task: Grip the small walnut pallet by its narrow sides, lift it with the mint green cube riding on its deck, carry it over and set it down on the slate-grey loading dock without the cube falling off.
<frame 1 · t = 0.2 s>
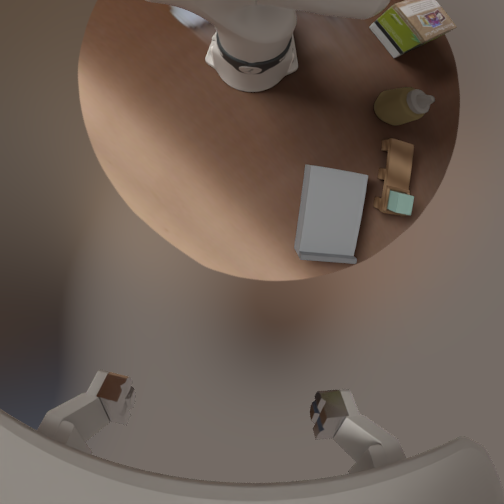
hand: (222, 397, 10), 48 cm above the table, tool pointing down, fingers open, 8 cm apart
mint green cube: (395, 200, 51), point 4 cm above the table, touching pallet
squeeze bottle: (384, 109, 48), on the table
pallet: (389, 175, 54), on the table, touching mint green cube
dock: (327, 210, 56), on the table
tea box: (397, 35, 41), on the table
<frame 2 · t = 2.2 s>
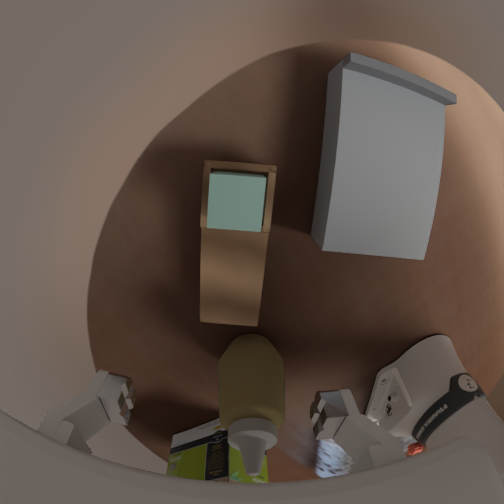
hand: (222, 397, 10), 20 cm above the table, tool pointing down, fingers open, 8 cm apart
mint green cube: (237, 195, 23), point 4 cm above the table, touching pallet
squeeze bottle: (250, 349, 34), on the table
pallet: (235, 237, 29), on the table, touching mint green cube
dock: (372, 162, 26), on the table
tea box: (218, 434, 42), on the table
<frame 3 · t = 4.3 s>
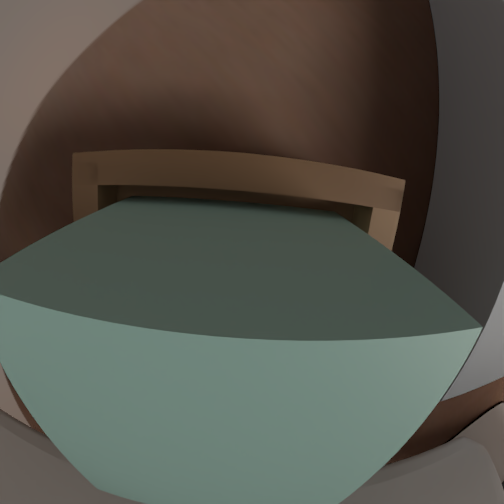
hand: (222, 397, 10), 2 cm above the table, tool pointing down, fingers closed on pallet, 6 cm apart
mint green cube: (226, 295, 6), point 4 cm above the table, touching pallet
pallet: (225, 346, 12), on the table, touching mint green cube, gripper
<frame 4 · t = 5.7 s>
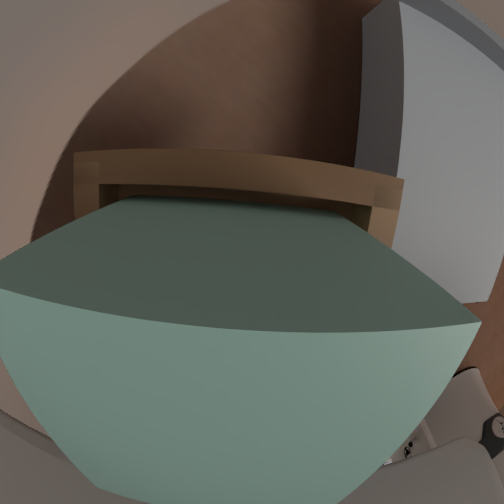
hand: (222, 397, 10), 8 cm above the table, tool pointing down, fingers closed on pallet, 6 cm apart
mint green cube: (226, 294, 6), point 11 cm above the table, touching pallet
pallet: (225, 346, 12), point 6 cm above the table, touching mint green cube, gripper
dock: (428, 155, 15), on the table
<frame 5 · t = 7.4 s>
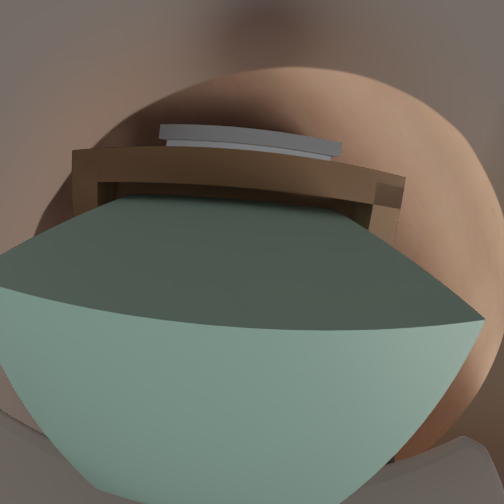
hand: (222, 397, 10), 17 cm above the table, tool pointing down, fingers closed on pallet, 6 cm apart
mint green cube: (225, 293, 6), point 20 cm above the table, touching pallet
pallet: (225, 346, 12), point 15 cm above the table, touching mint green cube, gripper
dock: (239, 233, 26), on the table
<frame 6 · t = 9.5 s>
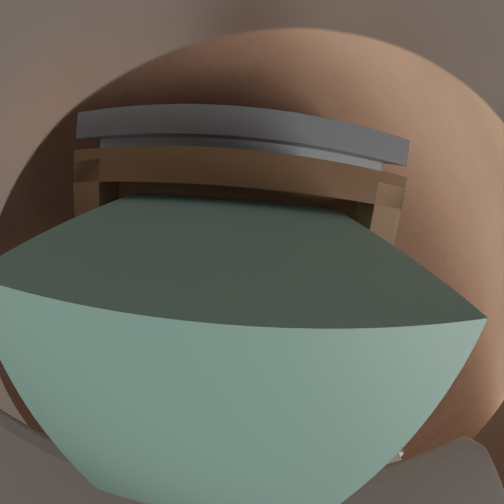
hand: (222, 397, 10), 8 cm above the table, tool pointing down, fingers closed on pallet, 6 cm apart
mint green cube: (227, 293, 6), point 11 cm above the table, touching pallet
pallet: (226, 346, 12), point 6 cm above the table, touching mint green cube, gripper
dock: (230, 275, 17), on the table
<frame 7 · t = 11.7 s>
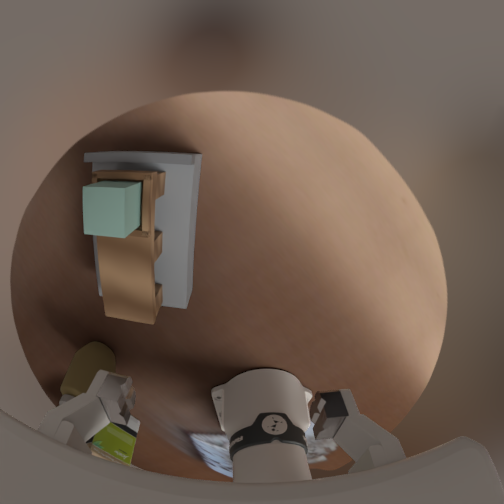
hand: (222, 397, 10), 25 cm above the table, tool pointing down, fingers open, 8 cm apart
mint green cube: (122, 202, 23), point 9 cm above the table, touching pallet
squeeze bottle: (102, 352, 41), on the table
pallet: (137, 239, 29), point 5 cm above the table, touching mint green cube, dock
dock: (150, 221, 33), on the table
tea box: (109, 415, 49), on the table
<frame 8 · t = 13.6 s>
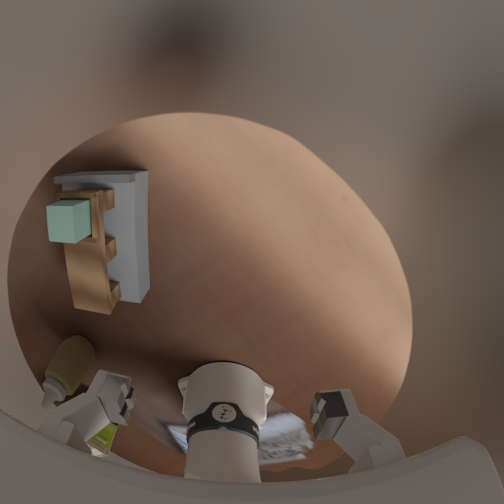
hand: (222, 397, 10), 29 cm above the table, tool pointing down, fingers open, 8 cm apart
mint green cube: (78, 215, 27), point 9 cm above the table, touching pallet
squeeze bottle: (83, 345, 45), on the table
pallet: (98, 244, 33), point 5 cm above the table, touching mint green cube, dock
dock: (112, 230, 37), on the table
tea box: (95, 406, 53), on the table
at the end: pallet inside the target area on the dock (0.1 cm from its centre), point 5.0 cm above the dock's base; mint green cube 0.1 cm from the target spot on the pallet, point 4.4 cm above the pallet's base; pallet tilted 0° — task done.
